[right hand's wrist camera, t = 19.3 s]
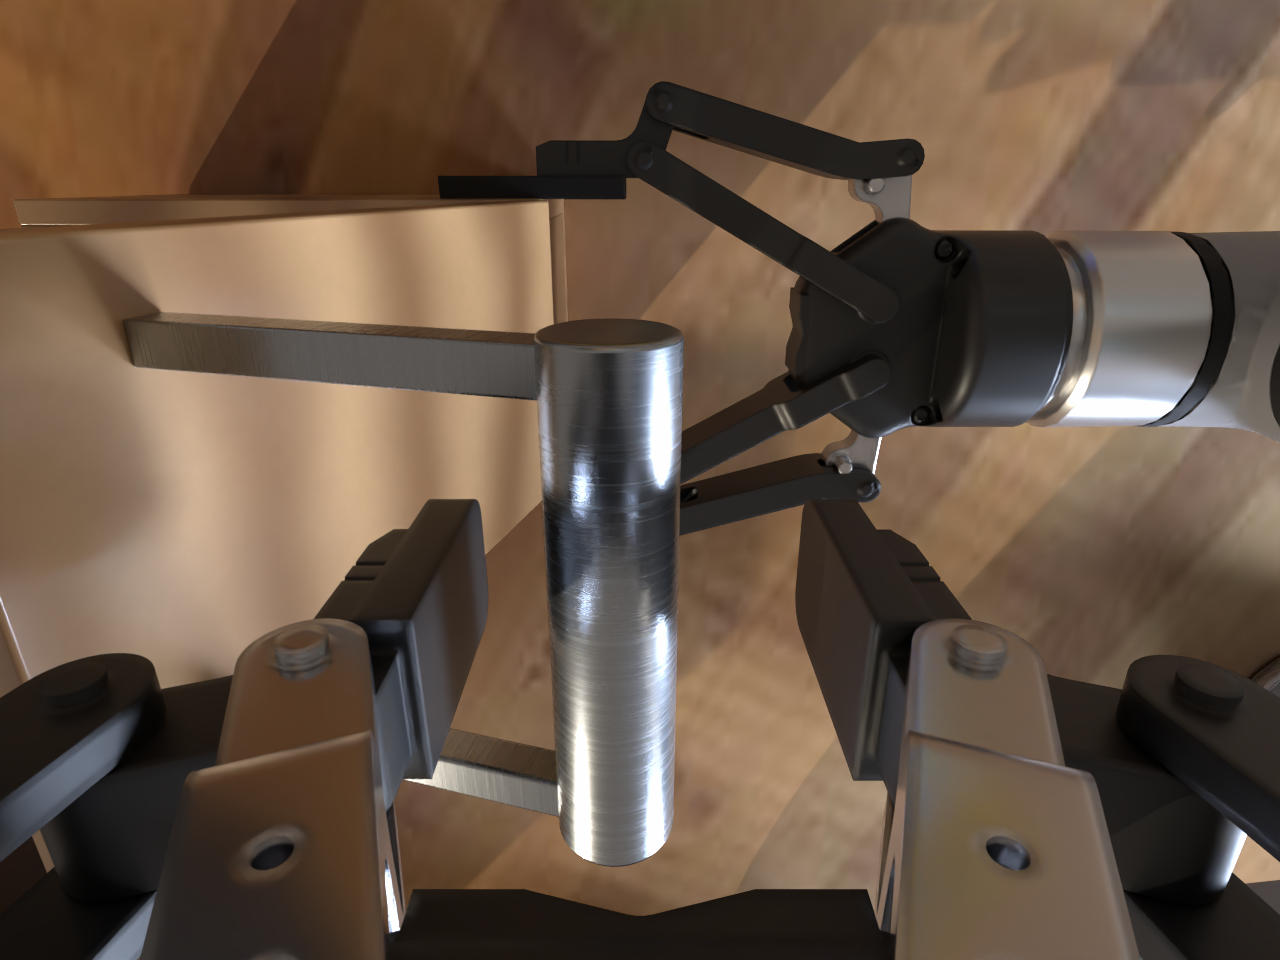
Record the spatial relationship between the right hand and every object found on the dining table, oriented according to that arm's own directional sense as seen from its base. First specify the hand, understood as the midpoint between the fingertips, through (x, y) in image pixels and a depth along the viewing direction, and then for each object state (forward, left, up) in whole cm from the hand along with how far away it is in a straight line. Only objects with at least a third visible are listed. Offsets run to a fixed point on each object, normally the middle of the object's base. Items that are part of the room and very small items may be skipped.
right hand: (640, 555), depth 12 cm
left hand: (-1, +7, -19) cm, 20 cm away
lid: (-1, +7, -7) cm, 9 cm away
